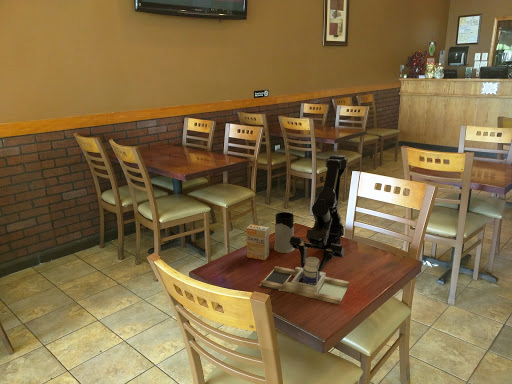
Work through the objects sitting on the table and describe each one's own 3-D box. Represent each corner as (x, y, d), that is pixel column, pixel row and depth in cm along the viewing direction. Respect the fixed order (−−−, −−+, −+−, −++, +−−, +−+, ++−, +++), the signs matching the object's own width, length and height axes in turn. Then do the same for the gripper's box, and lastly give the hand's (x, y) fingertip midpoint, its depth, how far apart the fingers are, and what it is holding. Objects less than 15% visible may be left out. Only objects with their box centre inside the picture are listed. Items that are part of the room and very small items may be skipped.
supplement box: (246, 257, 161) (245, 227, 157) (250, 252, 165) (250, 223, 161) (265, 261, 158) (265, 230, 154) (269, 256, 162) (269, 226, 158)
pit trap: (259, 286, 140) (259, 285, 140) (275, 268, 152) (275, 267, 152) (279, 291, 136) (279, 289, 136) (294, 272, 148) (294, 271, 148)
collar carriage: (291, 288, 137) (291, 281, 136) (300, 276, 145) (300, 269, 144) (316, 294, 133) (316, 287, 132) (324, 281, 141) (324, 275, 140)
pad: (316, 296, 133) (316, 295, 133) (324, 282, 141) (324, 282, 141) (340, 301, 130) (340, 301, 130) (347, 287, 138) (347, 287, 138)
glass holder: (270, 250, 167) (270, 217, 162) (282, 238, 179) (282, 206, 174) (290, 254, 163) (291, 220, 159) (301, 241, 176) (302, 209, 171)
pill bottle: (308, 278, 143) (311, 254, 139) (321, 285, 139) (324, 260, 136) (298, 284, 139) (300, 259, 136) (311, 291, 135) (314, 265, 132)
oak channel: (261, 285, 140) (260, 277, 139) (275, 269, 151) (275, 262, 150) (339, 304, 128) (339, 296, 127) (348, 285, 139) (349, 277, 138)
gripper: (291, 214, 139) (278, 256, 133) (344, 223, 131) (333, 267, 125) (298, 227, 148) (287, 267, 142) (348, 236, 140) (338, 278, 134)
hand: (310, 269), depth 135 cm, fingers closed on pill bottle, 6 cm apart
